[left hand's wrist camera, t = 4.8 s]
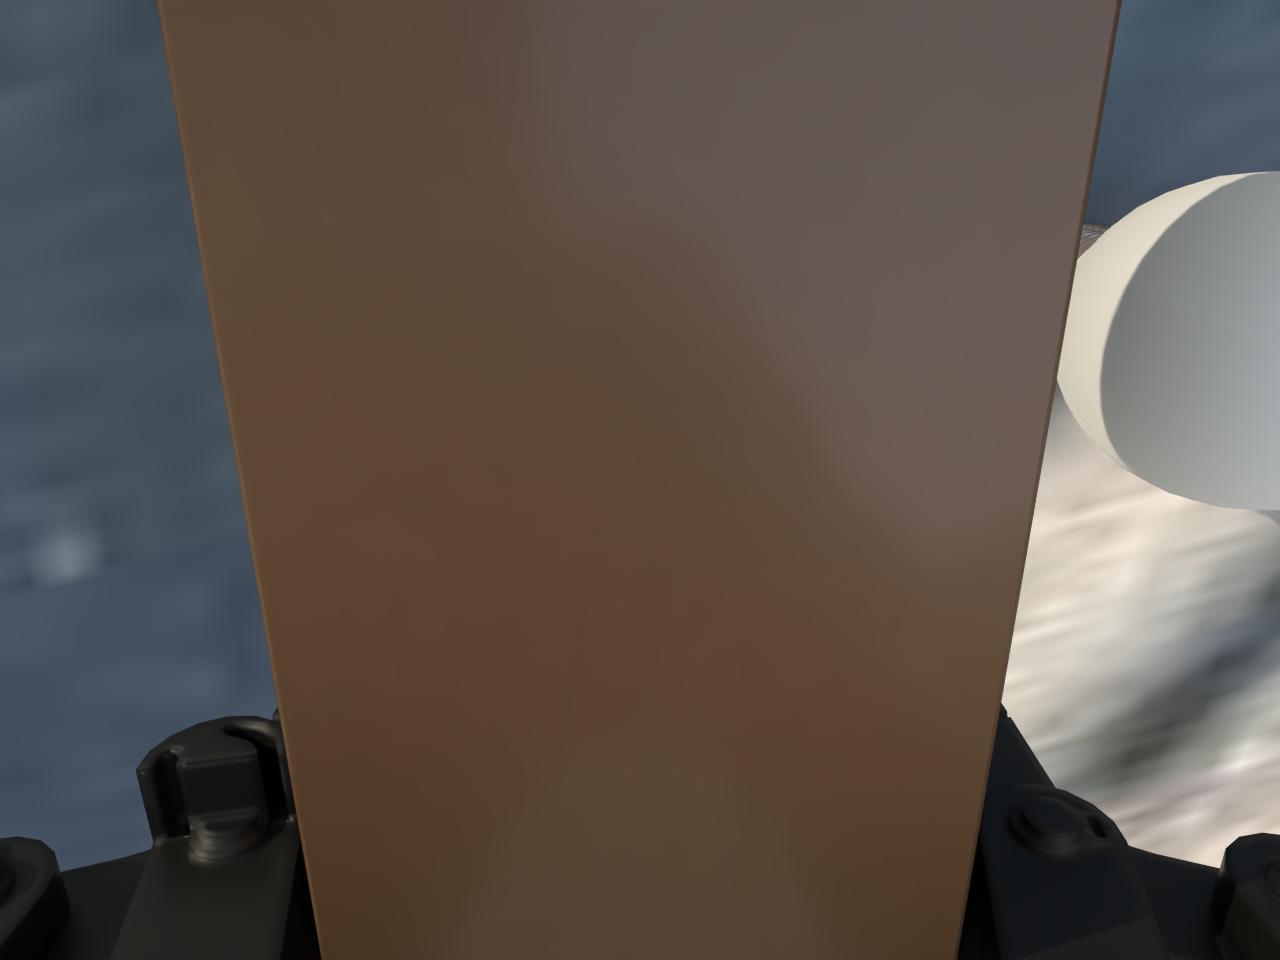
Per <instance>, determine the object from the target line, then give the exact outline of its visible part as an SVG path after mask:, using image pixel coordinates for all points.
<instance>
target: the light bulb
mask: <svg viewBox="0 0 1280 960" xmlns="http://www.w3.org/2000/svg"><path fill="white" fill-rule="evenodd" d="M1057 381H1058V383H1059V386H1060V389H1061V391H1062V394H1063V397H1064V399H1065V401H1066V403H1067V405H1068V407H1069V409H1070V410H1071V412H1072V414H1073V416H1074V417H1075V419H1076V420H1077V422H1078V423H1079V425H1080V426H1081V427H1082V429H1083V430H1084V432H1085V433H1086V435H1087V436H1088V437H1089V438H1090V439H1091V440H1092V441H1093V442H1095V443H1096V444H1097V445H1098V446H1099V447H1100V448H1101V449H1102V450H1103V451H1104V452H1105V453H1107V454H1108V455H1109V456H1110V457H1111V458H1112V459H1113V460H1114V461H1115V462H1116V463H1118V464H1119V465H1120V466H1121V467H1122V468H1124V469H1125V470H1127V471H1129V472H1131V473H1133V474H1134V475H1136V476H1138V477H1140V478H1142V479H1143V480H1145V481H1147V482H1149V483H1151V484H1153V485H1155V486H1157V487H1159V488H1161V489H1162V490H1164V491H1166V492H1168V493H1172V494H1175V495H1178V496H1182V497H1185V498H1188V499H1192V500H1195V501H1199V502H1203V503H1207V504H1211V505H1215V506H1219V507H1224V508H1235V509H1246V510H1280V171H1276V172H1260V173H1246V174H1237V175H1227V176H1218V177H1215V178H1211V179H1208V180H1205V181H1201V182H1198V183H1195V184H1191V185H1188V186H1185V187H1182V188H1179V189H1176V190H1173V191H1170V192H1167V193H1165V194H1163V195H1161V196H1159V197H1157V198H1155V199H1153V200H1151V201H1149V202H1147V203H1145V204H1143V205H1141V206H1139V207H1137V208H1136V209H1135V210H1133V211H1132V212H1131V213H1129V214H1128V215H1127V216H1125V217H1124V218H1122V219H1121V220H1120V221H1118V222H1117V223H1116V224H1114V225H1113V226H1112V227H1108V226H1103V225H1090V224H1088V225H1083V229H1082V235H1081V241H1080V247H1079V252H1078V258H1077V264H1076V270H1075V276H1074V282H1073V287H1072V293H1071V299H1070V305H1069V311H1068V316H1067V322H1066V328H1065V334H1064V340H1063V346H1062V351H1061V357H1060V363H1059V369H1058V375H1057Z"/></svg>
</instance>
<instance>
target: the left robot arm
mask: <svg viewBox="0 0 1280 960" xmlns="http://www.w3.org/2000/svg"><path fill="white" fill-rule="evenodd" d="M136 774H137V778H138V782H139V786H140V790H141V794H142V798H143V802H144V806H145V810H146V814H147V818H148V822H149V826H150V830H151V834H152V838H153V845H152V848H151V849H150V850H148V851H144V852H141V853H138V854H134V855H131V856H128V857H124V858H120V859H116V860H111V861H107V862H103V863H98V864H94V865H89V866H85V867H81V868H76V869H72V870H68V871H63V872H60V869H59V866H58V862H57V859H56V856H55V852H54V851H53V850H51V849H50V848H49V847H48V846H47V845H46V844H45V843H43V842H42V841H41V840H35V839H29V838H24V837H10V838H2V839H0V960H322V958H321V952H320V946H319V941H318V935H317V929H316V923H315V917H314V912H313V906H312V900H311V894H310V888H309V883H308V877H307V871H306V865H305V860H304V854H303V848H302V842H301V836H300V831H299V825H298V819H297V813H296V807H295V802H294V796H293V790H292V784H291V778H290V773H289V767H288V761H287V755H286V749H285V744H284V738H283V732H282V726H281V720H280V715H279V709H278V707H277V709H276V711H275V712H274V714H273V719H272V720H268V719H265V718H261V717H257V716H228V717H224V718H219V719H215V720H210V721H206V722H202V723H198V724H196V725H194V726H192V727H189V728H187V729H185V730H182V731H180V732H178V733H176V734H173V735H171V736H170V737H169V738H167V739H166V740H164V741H163V742H162V743H160V744H159V745H158V746H156V747H155V748H153V749H152V750H151V751H149V753H148V754H147V755H146V757H145V758H144V759H143V761H142V762H141V763H140V765H139V766H138V767H137V769H136ZM957 960H1280V835H1277V834H1269V833H1258V834H1252V835H1247V836H1241V837H1238V838H1237V839H1236V840H1235V841H1234V842H1233V843H1232V844H1230V845H1229V846H1228V847H1227V848H1226V850H1225V853H1224V856H1223V860H1222V863H1221V866H1220V868H1215V867H1211V866H1206V865H1202V864H1198V863H1193V862H1189V861H1185V860H1180V859H1176V858H1171V857H1167V856H1163V855H1158V854H1154V853H1151V852H1148V851H1144V850H1141V849H1138V848H1134V847H1131V846H1129V845H1128V843H1127V841H1126V839H1125V838H1124V836H1123V835H1122V833H1121V832H1120V830H1119V829H1118V827H1117V826H1116V824H1115V822H1114V821H1113V820H1111V819H1110V818H1109V817H1108V816H1107V815H1105V814H1104V813H1103V812H1102V811H1100V810H1099V809H1098V808H1097V807H1096V806H1094V805H1093V804H1092V803H1090V802H1088V801H1086V800H1083V799H1081V798H1079V797H1077V796H1075V795H1073V794H1071V793H1069V792H1067V791H1065V790H1061V789H1057V788H1055V786H1054V785H1053V783H1052V782H1051V780H1050V778H1049V777H1048V775H1047V774H1046V772H1045V771H1044V769H1043V767H1042V766H1041V764H1040V763H1039V761H1038V760H1037V758H1036V756H1035V755H1034V753H1033V752H1032V750H1031V749H1030V747H1029V745H1028V744H1027V742H1026V741H1025V739H1024V738H1023V736H1022V734H1021V733H1020V731H1019V730H1018V728H1017V727H1016V725H1015V723H1014V722H1013V720H1012V719H1011V717H1007V711H1006V709H1005V708H1004V706H1003V705H1002V703H1001V706H1000V712H999V718H998V723H997V729H996V735H995V741H994V747H993V752H992V758H991V764H990V770H989V776H988V781H987V787H986V793H985V799H984V805H983V811H982V816H981V822H980V828H979V834H978V840H977V845H976V851H975V857H974V863H973V869H972V874H971V880H970V886H969V892H968V898H967V904H966V909H965V915H964V921H963V927H962V933H961V938H960V944H959V950H958V956H957Z"/></svg>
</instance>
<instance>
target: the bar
mask: <svg viewBox="0 0 1280 960" xmlns="http://www.w3.org/2000/svg"><path fill="white" fill-rule="evenodd" d="M156 1H157V7H158V13H159V19H160V25H161V30H162V36H163V42H164V48H165V54H166V59H167V65H168V71H169V77H170V83H171V88H172V94H173V100H174V106H175V112H176V117H177V123H178V129H179V135H180V141H181V146H182V152H183V158H184V164H185V170H186V175H187V181H188V187H189V193H190V199H191V204H192V210H193V216H194V222H195V228H196V233H197V239H198V245H199V251H200V256H201V262H202V268H203V274H204V280H205V285H206V291H207V297H208V303H209V309H210V314H211V320H212V326H213V332H214V338H215V343H216V349H217V355H218V361H219V367H220V372H221V378H222V384H223V390H224V396H225V401H226V407H227V413H228V419H229V425H230V430H231V436H232V442H233V448H234V454H235V459H236V465H237V471H238V477H239V483H240V488H241V494H242V500H243V506H244V512H245V517H246V523H247V529H248V535H249V541H250V546H251V552H252V558H253V564H254V570H255V575H256V581H257V587H258V593H259V599H260V604H261V610H262V616H263V622H264V628H265V633H266V639H267V645H268V651H269V657H270V662H271V668H272V674H273V680H274V686H275V691H276V697H277V703H278V709H279V715H280V720H281V726H282V732H283V738H284V744H285V749H286V755H287V761H288V767H289V773H290V778H291V784H292V790H293V796H294V802H295V807H296V813H297V819H298V825H299V831H300V836H301V842H302V848H303V854H304V860H305V865H306V871H307V877H308V883H309V888H310V894H311V900H312V906H313V912H314V917H315V923H316V929H317V935H318V941H319V946H320V952H321V958H322V960H957V956H958V950H959V944H960V938H961V933H962V927H963V921H964V915H965V909H966V904H967V898H968V892H969V886H970V880H971V874H972V869H973V863H974V857H975V851H976V845H977V840H978V834H979V828H980V822H981V816H982V811H983V805H984V799H985V793H986V787H987V781H988V776H989V770H990V764H991V758H992V752H993V747H994V741H995V735H996V729H997V723H998V718H999V712H1000V706H1001V700H1002V694H1003V688H1004V683H1005V677H1006V671H1007V665H1008V659H1009V654H1010V648H1011V642H1012V636H1013V630H1014V625H1015V619H1016V613H1017V607H1018V601H1019V595H1020V590H1021V584H1022V578H1023V572H1024V566H1025V561H1026V555H1027V549H1028V543H1029V537H1030V532H1031V526H1032V520H1033V514H1034V508H1035V502H1036V497H1037V491H1038V485H1039V479H1040V473H1041V468H1042V462H1043V456H1044V450H1045V444H1046V439H1047V433H1048V427H1049V421H1050V415H1051V409H1052V404H1053V398H1054V392H1055V386H1056V380H1057V375H1058V369H1059V363H1060V357H1061V351H1062V346H1063V340H1064V334H1065V328H1066V322H1067V316H1068V311H1069V305H1070V299H1071V293H1072V287H1073V282H1074V276H1075V270H1076V264H1077V258H1078V252H1079V247H1080V241H1081V235H1082V229H1083V223H1084V218H1085V212H1086V206H1087V200H1088V194H1089V189H1090V183H1091V177H1092V171H1093V165H1094V159H1095V154H1096V148H1097V142H1098V136H1099V130H1100V125H1101V119H1102V113H1103V107H1104V101H1105V96H1106V90H1107V84H1108V78H1109V72H1110V66H1111V61H1112V55H1113V49H1114V43H1115V37H1116V32H1117V26H1118V20H1119V14H1120V8H1121V3H1122V0H156Z"/></svg>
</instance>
